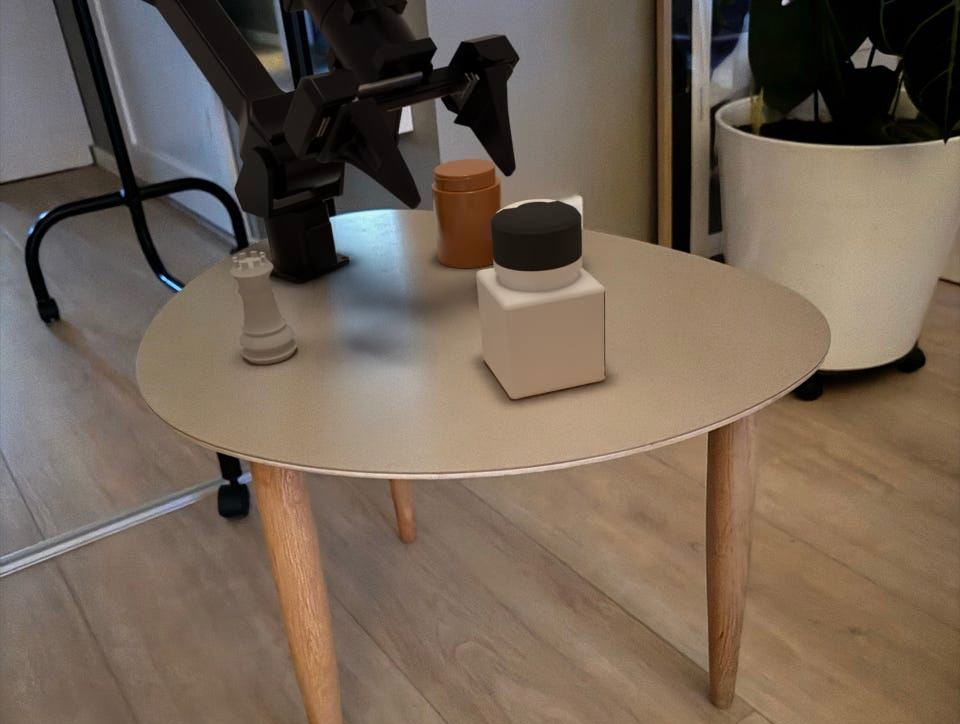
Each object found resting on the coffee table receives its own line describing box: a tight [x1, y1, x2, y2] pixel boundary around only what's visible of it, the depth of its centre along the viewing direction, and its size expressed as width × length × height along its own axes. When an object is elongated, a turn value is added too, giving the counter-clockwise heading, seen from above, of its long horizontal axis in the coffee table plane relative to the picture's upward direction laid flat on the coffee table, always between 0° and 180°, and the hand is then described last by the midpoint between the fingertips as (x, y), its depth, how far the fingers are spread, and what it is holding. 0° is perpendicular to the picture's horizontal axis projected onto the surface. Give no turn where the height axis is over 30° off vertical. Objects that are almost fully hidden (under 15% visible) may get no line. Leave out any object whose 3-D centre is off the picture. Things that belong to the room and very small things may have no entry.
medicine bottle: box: [475, 198, 606, 400], centre depth 64 cm, size 7×7×12 cm
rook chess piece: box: [229, 250, 298, 365], centre depth 71 cm, size 4×4×8 cm
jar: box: [430, 158, 503, 269], centre depth 86 cm, size 6×6×8 cm
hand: (466, 188), depth 67 cm, fingers open, 9 cm apart
